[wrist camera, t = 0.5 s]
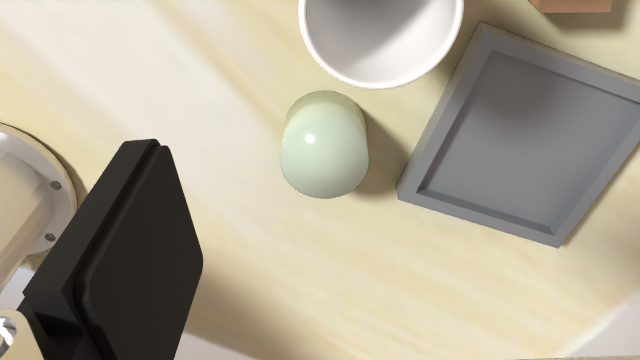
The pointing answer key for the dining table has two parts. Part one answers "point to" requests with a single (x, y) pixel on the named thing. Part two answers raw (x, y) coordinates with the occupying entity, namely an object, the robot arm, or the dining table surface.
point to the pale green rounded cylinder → (324, 145)
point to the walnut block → (572, 6)
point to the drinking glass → (379, 38)
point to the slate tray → (523, 138)
